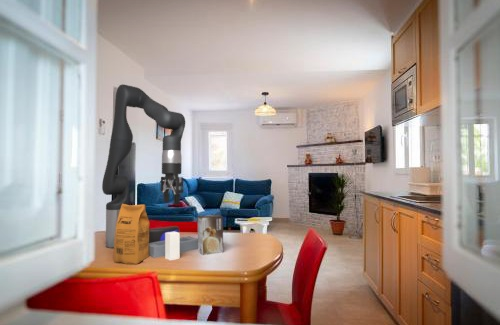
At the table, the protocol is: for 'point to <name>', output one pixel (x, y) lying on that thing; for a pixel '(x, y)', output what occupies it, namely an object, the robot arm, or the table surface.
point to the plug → (172, 245)
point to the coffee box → (210, 234)
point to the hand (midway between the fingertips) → (171, 203)
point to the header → (185, 245)
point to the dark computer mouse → (160, 233)
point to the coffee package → (131, 235)
